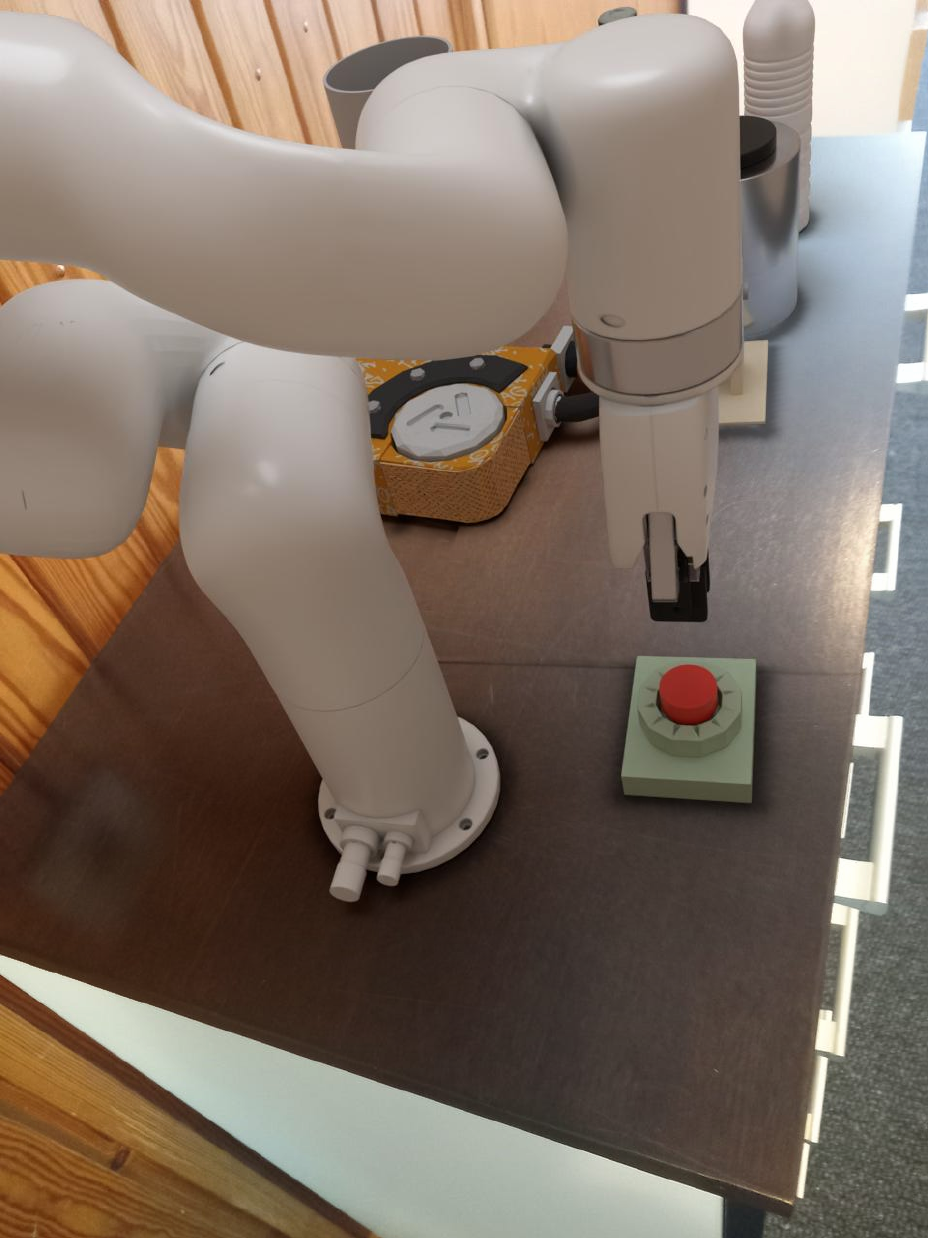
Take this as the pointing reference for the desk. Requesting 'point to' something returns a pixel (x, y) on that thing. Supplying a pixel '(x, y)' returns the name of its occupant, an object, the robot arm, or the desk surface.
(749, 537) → the desk surface
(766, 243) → the silver metal cylinder
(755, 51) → the water bottle
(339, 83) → the cylinder vase
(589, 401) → the device
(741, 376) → the lever stand
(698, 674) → the power button
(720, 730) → the push button block
